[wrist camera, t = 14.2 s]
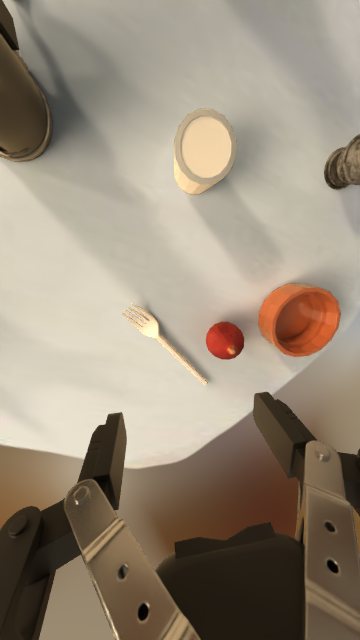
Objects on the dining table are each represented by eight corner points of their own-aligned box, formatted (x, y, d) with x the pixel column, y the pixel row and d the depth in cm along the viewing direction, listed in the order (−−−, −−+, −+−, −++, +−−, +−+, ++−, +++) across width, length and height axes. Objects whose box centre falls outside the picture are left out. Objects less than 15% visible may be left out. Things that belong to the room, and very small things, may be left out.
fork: (199, 387, 40) (201, 393, 38) (121, 312, 34) (119, 315, 32) (212, 376, 40) (215, 382, 38) (135, 298, 34) (134, 301, 32)
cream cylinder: (222, 193, 31) (241, 176, 24) (176, 204, 30) (182, 191, 24) (213, 136, 28) (231, 100, 22) (163, 148, 28) (166, 115, 21)
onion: (239, 323, 37) (262, 342, 30) (224, 351, 38) (241, 376, 31) (211, 311, 36) (226, 326, 28) (196, 340, 37) (206, 362, 29)
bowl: (258, 285, 35) (275, 290, 31) (321, 281, 36) (346, 285, 32) (254, 346, 39) (269, 360, 34) (312, 341, 40) (333, 353, 35)
